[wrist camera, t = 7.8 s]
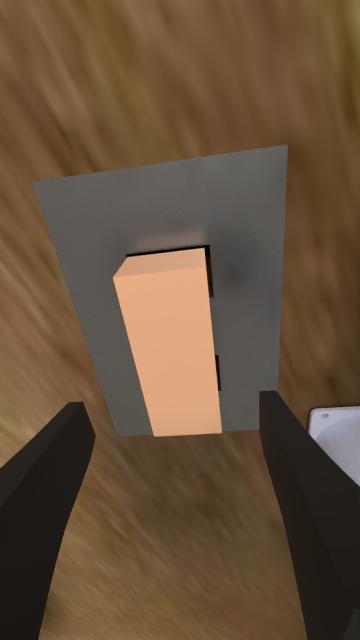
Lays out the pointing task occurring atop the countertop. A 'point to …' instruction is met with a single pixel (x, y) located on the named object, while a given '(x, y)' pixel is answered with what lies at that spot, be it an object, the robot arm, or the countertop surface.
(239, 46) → the countertop surface
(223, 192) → the rail plate
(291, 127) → the countertop surface
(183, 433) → the tall peach brick
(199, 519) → the countertop surface
